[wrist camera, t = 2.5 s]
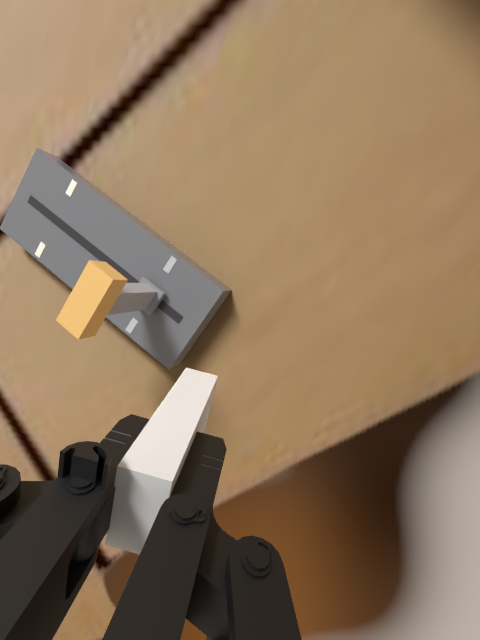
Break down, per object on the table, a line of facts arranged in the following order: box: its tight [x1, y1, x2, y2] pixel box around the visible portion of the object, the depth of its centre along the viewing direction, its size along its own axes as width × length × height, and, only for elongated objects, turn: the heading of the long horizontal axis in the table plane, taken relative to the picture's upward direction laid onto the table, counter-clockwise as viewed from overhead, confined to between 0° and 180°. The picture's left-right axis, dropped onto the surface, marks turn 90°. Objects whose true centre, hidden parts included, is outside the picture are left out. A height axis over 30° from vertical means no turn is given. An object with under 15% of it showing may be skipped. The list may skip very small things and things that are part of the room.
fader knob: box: [56, 260, 166, 339], centre depth 31 cm, size 3×6×10 cm, turn 144°
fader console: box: [0, 148, 231, 370], centre depth 39 cm, size 28×11×3 cm, turn 54°
